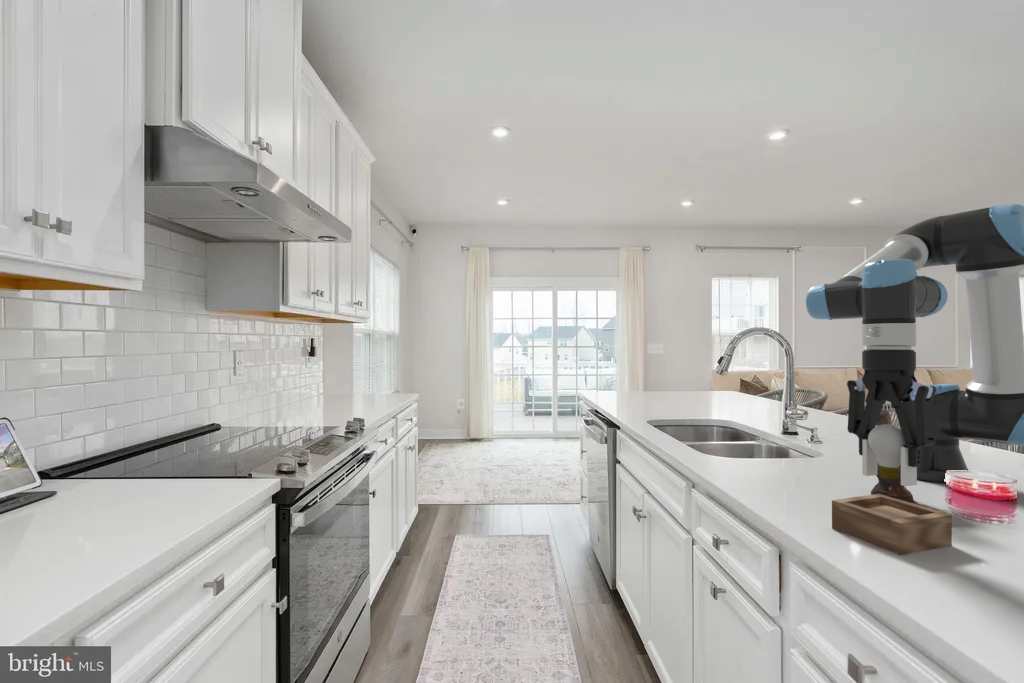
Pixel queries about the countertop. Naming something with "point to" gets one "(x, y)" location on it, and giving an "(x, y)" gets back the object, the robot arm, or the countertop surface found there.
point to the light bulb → (887, 449)
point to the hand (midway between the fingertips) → (888, 479)
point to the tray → (892, 523)
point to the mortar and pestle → (895, 487)
